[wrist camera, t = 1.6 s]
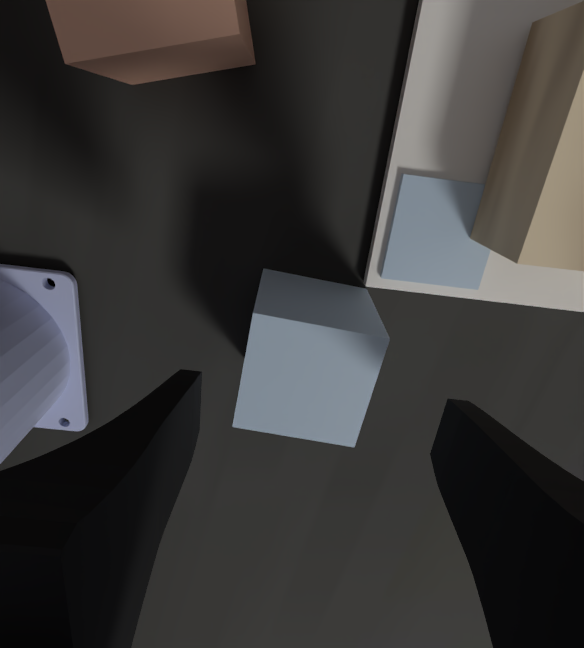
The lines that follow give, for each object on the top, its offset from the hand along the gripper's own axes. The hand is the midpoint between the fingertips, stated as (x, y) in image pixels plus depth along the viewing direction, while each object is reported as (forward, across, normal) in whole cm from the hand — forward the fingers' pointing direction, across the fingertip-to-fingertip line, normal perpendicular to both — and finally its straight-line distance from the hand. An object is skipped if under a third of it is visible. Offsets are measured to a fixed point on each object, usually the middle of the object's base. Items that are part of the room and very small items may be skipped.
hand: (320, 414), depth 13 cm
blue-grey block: (+7, 0, 0) cm, 7 cm away
